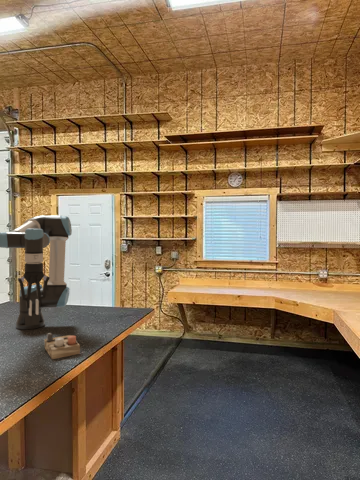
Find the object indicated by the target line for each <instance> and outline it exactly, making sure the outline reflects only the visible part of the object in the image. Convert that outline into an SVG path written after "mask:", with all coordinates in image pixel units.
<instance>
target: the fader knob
mask: <svg viewBox="0 0 360 480" xmlns="http://www.w3.org/2000/svg"><path fill="white" fill-rule="evenodd" d="M53 335H54V334H53V333H52V332H46V339H47V341H53V338H54V337H53Z"/></svg>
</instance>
